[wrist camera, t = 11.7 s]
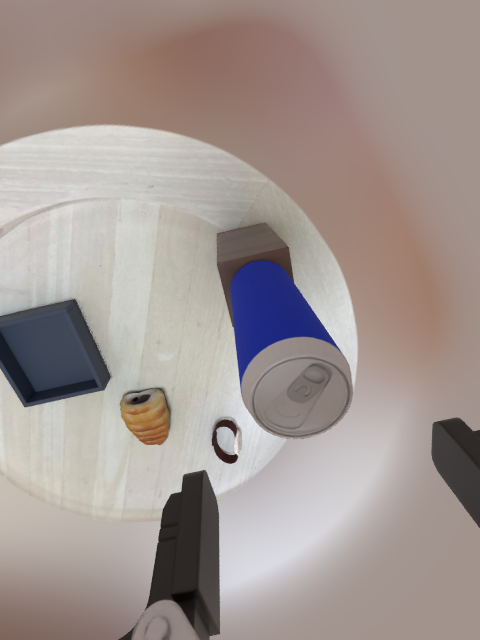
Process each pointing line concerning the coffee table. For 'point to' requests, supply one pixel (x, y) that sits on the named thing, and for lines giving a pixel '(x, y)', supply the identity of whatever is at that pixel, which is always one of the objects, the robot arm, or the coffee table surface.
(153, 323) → the coffee table surface
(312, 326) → the beverage can
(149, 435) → the pastry
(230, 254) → the block
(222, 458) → the watch
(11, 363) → the tray
